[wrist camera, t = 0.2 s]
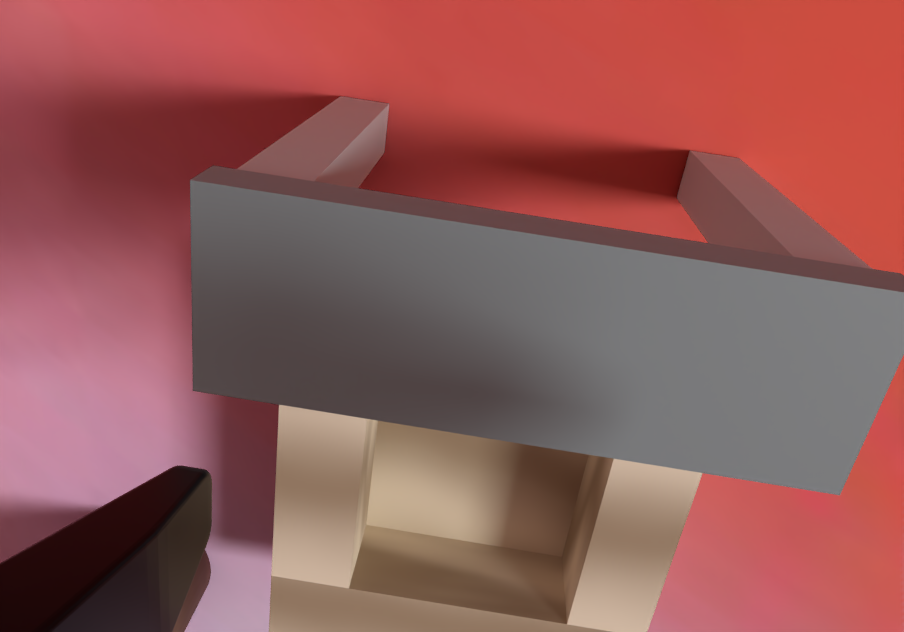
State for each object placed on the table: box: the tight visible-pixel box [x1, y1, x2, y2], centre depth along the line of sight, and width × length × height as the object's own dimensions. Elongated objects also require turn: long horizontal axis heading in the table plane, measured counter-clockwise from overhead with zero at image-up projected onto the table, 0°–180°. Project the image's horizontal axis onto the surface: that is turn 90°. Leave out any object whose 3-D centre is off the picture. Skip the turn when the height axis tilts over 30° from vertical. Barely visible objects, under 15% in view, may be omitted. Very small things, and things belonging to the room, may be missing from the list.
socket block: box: [269, 405, 702, 632], centre depth 24 cm, size 12×12×4 cm
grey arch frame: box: [190, 96, 904, 495], centre depth 17 cm, size 4×12×10 cm, turn 82°
